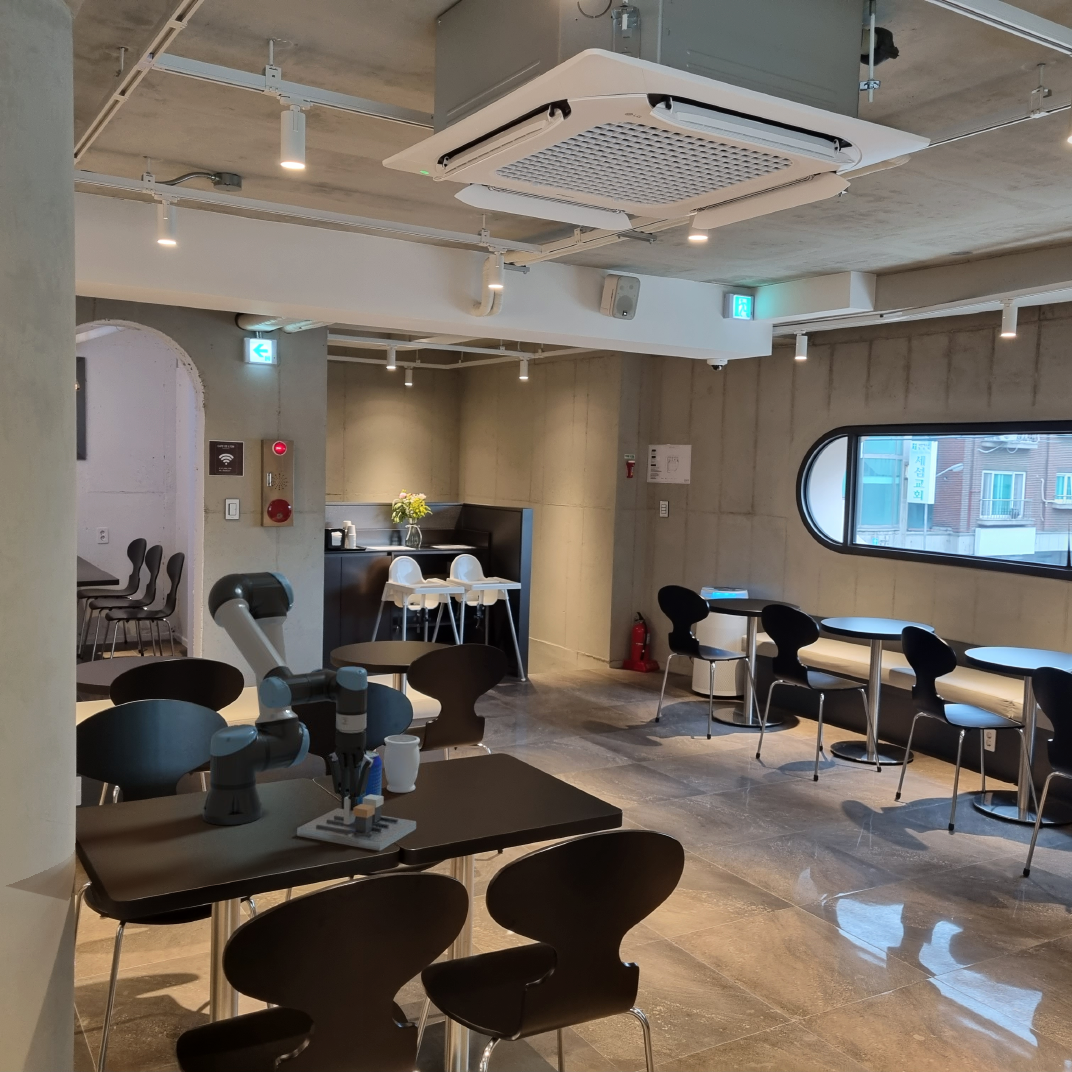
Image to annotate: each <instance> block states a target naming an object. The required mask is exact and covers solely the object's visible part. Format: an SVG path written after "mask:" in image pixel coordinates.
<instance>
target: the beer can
mask: <svg viewBox="0 0 1072 1072" xmlns="http://www.w3.org/2000/svg"><path fill="white" fill-rule="evenodd" d="M366 753H367V756H368V757H369V758H370V759H374V760H375V762H374V764H373V765H372V767H371V770H370V774H369V778H368V783H367V787H366V791H365V794H364V795H362V796H360V797H358V805H360V804H363V798H364V797H366V796H368V795H370V794H372V795H378V796H382V776H383V775H382V773H383V772H382V768H383V761H382V759H381V758H380V754H379V752H378V751H373V750H366ZM362 763H363V761H362V762H361V764H360V770H359V778H360V774H361V770H362V767H363V764H362Z"/></svg>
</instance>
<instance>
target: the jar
mask: <svg viewBox="0 0 1072 1072" xmlns="http://www.w3.org/2000/svg"><path fill="white" fill-rule="evenodd" d="M420 741H421V740H420V737H418V736H415V735H411V734H395V735H389V736H386V737H385V738H384V743H385V748H384V754H383V766H384V771H385V778H386V781H387V783H388V784H387V786H386V790H387V791H389V792H391V793H396V794H405V793H410V792H413V791H415V789H416V785H415V784H414V783H416V780H417V777H418V772H419V767H420V760H421V758H420V757H421V756H420V748H419V744H420Z"/></svg>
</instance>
